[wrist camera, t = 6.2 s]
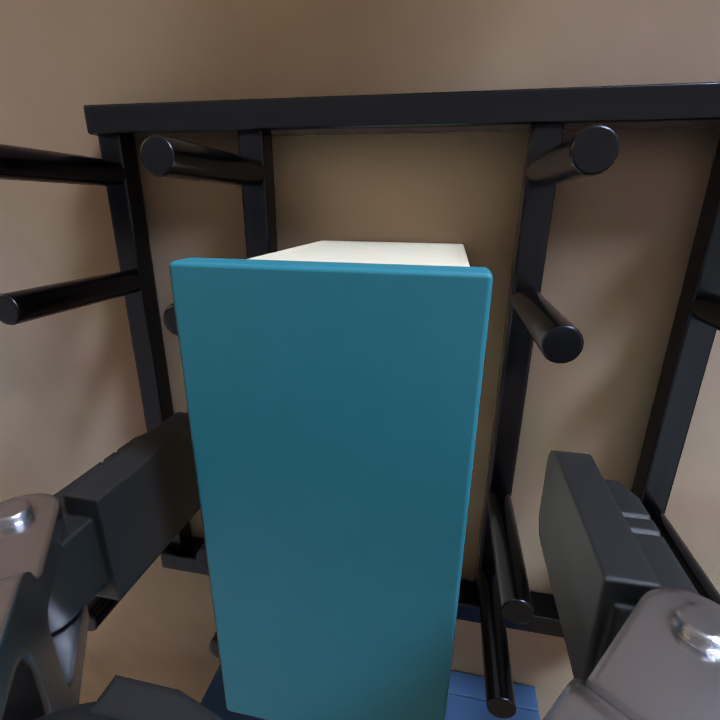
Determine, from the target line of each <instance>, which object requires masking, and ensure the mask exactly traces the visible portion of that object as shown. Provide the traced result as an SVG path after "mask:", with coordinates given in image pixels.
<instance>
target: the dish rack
mask: <svg viewBox="0 0 720 720" xmlns="http://www.w3.org/2000/svg"><path fill="white" fill-rule="evenodd" d="M84 113H85V119H86V124H87V130H88V133H89V134H91V135H96V136H98V139H99V145H100V151H101V157H102V158H95V157H88V156H81V155H74V154H67V153H60V152H53V151H46V150H39V149H32V148H25V147H18V146H11V145H4V144H0V179H6V180H21V181H36V182H52V183H67V184H82V185H98V186H106V187H107V193H108V199H109V205H110V211H111V217H112V223H113V229H114V235H115V241H116V247H117V253H118V259H119V265H120V272H115V273H110V274H105V275H99V276H94V277H89V278H83V279H78V280H73V281H68V282H62V283H57V284H52V285H46V286H41V287H36V288H31V289H25V290H20V291H15V292H9V293H4V294H0V321H1V322H3V323H5V324H8V325H15V324H19V323H23V322H27V321H30V320H34V319H38V318H42V317H45V316H49V315H53V314H57V313H61V312H64V311H68V310H72V309H76V308H79V307H83V306H87V305H91V304H94V303H98V302H102V301H106V300H110V299H113V298H117V297H121V296H125V301H126V307H127V313H128V319H129V325H130V331H131V337H132V343H133V349H134V355H135V361H136V367H137V373H138V380H139V386H140V392H141V398H142V404H143V410H144V416H145V422H146V428H147V433H148V432H150V431H152V430H153V429H155V428H156V427H157V426H159V425H160V424H161V423H163V422H164V421H166V420H167V419H168V418H170V417H171V416H172V415H174V413H173V406H172V399H171V391H170V384H169V377H168V370H167V363H166V356H165V349H164V342H163V335H162V328H161V321H160V314H159V307H158V300H157V293H156V286H155V279H154V272H153V265H152V258H151V251H150V244H149V237H148V230H147V223H146V216H145V208H144V201H143V194H142V187H141V180H140V173H139V166H138V159H137V152H136V145H135V139H145V140H144V141H143V143H142V145H141V148H140V157H141V161H142V163H143V165H144V167H145V168H146V169H147V170H148V171H149V172H150V173H151V174H153V175H155V176H158V177H166V178H175V179H184V180H194V181H203V182H212V183H221V184H230V185H240V186H242V194H243V208H244V222H245V236H246V249H247V259H249V258H253V257H257V256H261V255H265V254H269V253H273V252H277V233H276V214H275V194H274V174H273V154H272V136H305V135H354V134H404V133H453V132H502V131H529V132H528V140H527V149H526V157H525V165H524V173H523V182H522V190H521V198H520V206H519V215H518V223H517V231H516V239H515V248H514V256H513V264H512V272H511V281H510V289H509V297H508V305H507V314H506V322H505V330H504V339H503V347H502V355H501V363H500V372H499V380H498V388H497V396H496V405H495V413H494V421H493V429H492V438H491V446H490V454H489V462H488V471H487V479H486V487H485V495H484V504H483V512H482V520H481V528H480V537H479V545H478V553H477V562H476V570H475V578H474V582H469V581H463V580H461V581H460V590H459V599H458V608H457V618H456V619H461V620H467V621H473V622H478V623H481V636H482V651H483V665H484V680H485V695H486V707H487V710H488V711H489V713H490V714H491V715H493V716H495V717H497V718H501V719H507V718H511V717H513V716H514V715H515V713H516V701H515V694H514V686H513V678H512V670H511V662H510V655H509V647H508V639H507V631H506V627H507V628H512V629H518V630H524V631H530V632H535V633H541V634H547V635H552V636H558V637H564V635H563V631H562V627H561V623H560V619H559V615H558V611H557V607H556V603H555V599H554V595H550V594H544V593H538V592H532V591H530V589H529V584H528V579H527V574H526V569H525V564H524V559H523V554H522V549H521V544H520V539H519V534H518V529H517V525H516V520H515V515H514V510H513V505H512V500H511V493H512V486H513V479H514V472H515V465H516V458H517V451H518V444H519V437H520V431H521V424H522V417H523V410H524V403H525V396H526V389H527V382H528V375H529V368H530V361H531V354H532V347H533V341H535V343H536V344H537V346H538V347H539V349H540V351H541V352H542V354H543V355H544V357H545V358H546V359H548V360H549V361H551V362H554V363H567V362H570V361H572V360H574V359H575V358H576V357H577V356H578V355H579V354H580V353H581V351H582V349H583V345H584V340H583V336H582V334H581V333H580V331H579V330H578V329H576V328H575V327H574V326H573V325H572V324H571V323H570V322H569V321H568V320H567V319H566V318H565V317H564V316H563V315H562V314H561V313H560V312H559V311H558V310H557V309H556V308H555V307H554V306H553V305H552V304H551V303H550V302H549V301H547V300H546V299H545V298H544V297H543V296H542V295H541V294H540V292H541V285H542V278H543V271H544V264H545V257H546V251H547V244H548V237H549V230H550V223H551V216H552V209H553V202H554V195H555V188H556V184H559V183H564V182H568V181H572V180H576V179H581V178H585V177H589V176H593V175H597V174H600V173H602V172H604V171H606V170H607V169H608V168H609V167H610V166H611V165H612V164H613V163H614V161H615V160H616V158H617V156H618V153H619V147H620V144H619V139H618V136H617V134H616V133H615V132H614V130H612V129H649V128H699V127H720V82H704V83H677V84H650V85H623V86H595V87H568V88H541V89H514V90H487V91H459V92H432V93H405V94H378V95H351V96H323V97H296V98H269V99H242V100H215V101H187V102H160V103H133V104H106V105H85V106H84ZM564 130H582V131H580V132H579V133H577V134H575V135H574V136H572V137H570V138H569V139H567V140H565V141H564V142H562V140H563V133H564ZM207 137H238V139H239V153H240V155H237V154H233V153H229V152H225V151H221V150H217V149H213V148H209V147H205V146H201V145H197V144H193V143H189V142H185V141H181V140H177V139H173V138H207ZM164 323H165V326H166V327H167V329H168V330H169V331H170V332H171V333H172V334H174V335H177V336H178V331H177V323H176V315H175V308H174V304H171V305H170V306H168V307H167V309H166V310H165V312H164ZM716 330H720V139H719V143H718V147H717V151H716V155H715V159H714V163H713V167H712V171H711V175H710V179H709V183H708V187H707V191H706V195H705V199H704V203H703V207H702V211H701V215H700V219H699V223H698V227H697V231H696V235H695V239H694V243H693V247H692V251H691V255H690V259H689V263H688V267H687V271H686V275H685V279H684V283H683V287H682V291H681V295H680V299H679V303H678V307H677V311H676V315H675V319H674V323H673V327H672V331H671V335H670V339H669V343H668V347H667V351H666V355H665V359H664V363H663V367H662V371H661V375H660V379H659V383H658V387H657V391H656V395H655V399H654V403H653V407H652V411H651V415H650V419H649V423H648V427H647V431H646V435H645V439H644V443H643V447H642V451H641V455H640V459H639V463H638V467H637V471H636V475H635V479H634V483H633V487H632V491H631V492H632V493H633V494H635V495H636V496H637V497H638V498H639V499H640V501H641V502H642V504H643V505H644V507H645V509H646V510H647V512H648V513H649V515H650V519H651V520H653V521H654V523H655V525H656V526H657V528H658V529H659V531H660V535H661V537H664V539H665V541H666V542H667V544H668V545H669V547H670V549H671V550H672V552H673V553H674V555H675V557H676V558H677V560H678V561H679V563H680V565H681V566H682V568H683V569H684V571H685V573H686V574H687V576H688V577H689V579H690V581H691V582H692V584H693V585H694V587H695V589H696V590H697V592H698V593H699V595H701V596H703V597H705V598H707V599H710V600H712V601H714V602H716V603H717V604H719V605H720V594H719V593H718V591H717V590H716V588H715V587H714V585H713V584H712V582H711V581H710V580H709V578H708V577H707V575H706V574H705V572H704V571H703V569H702V568H701V567H700V565H699V564H698V562H697V561H696V559H695V558H694V557H693V555H692V554H691V552H690V551H689V549H688V548H687V546H686V545H685V544H684V542H683V541H682V539H681V538H680V536H679V535H678V533H677V532H676V531H675V529H674V528H673V526H672V525H671V523H670V522H669V520H668V519H667V518H666V516H665V515H664V513H665V510H666V506H667V503H668V499H669V496H670V492H671V489H672V485H673V482H674V478H675V475H676V471H677V468H678V464H679V461H680V457H681V454H682V450H683V447H684V443H685V439H686V436H687V432H688V429H689V425H690V422H691V418H692V415H693V411H694V408H695V404H696V401H697V397H698V394H699V390H700V387H701V383H702V380H703V376H704V373H705V369H706V365H707V362H708V358H709V355H710V351H711V348H712V344H713V341H714V337H715V334H716ZM161 559H162V565H163V567H165V568H170V569H176V570H182V571H187V572H193V573H199V574H205V575H209V569H208V561H207V554H206V546H205V539H199V538H193V537H191V532H190V525H189V521H188V522H187V524H186V525H185V526H184V527H183V528H182V529H181V531H180V532H179V533H178V534H177V535H176V536H175V538H174V539H173V540H172V541H171V542H170V543H169V544H168V546H167V547H166V548H165V549H164V550H163V551H162V553H161ZM125 595H126V594H125ZM119 602H120V601H118V600H113V599H108V598H103V597H98V596H94V597H93V598H92V599H91V600H90V601H89V602H88V604H87V609H88V613H89V623H88V631H94V630H96V629H97V628H98V626H99V625H100V624H101V623H102V622H103V621H104V619H105V618H106V617H107V616H108V615H109V613H110V612H111V611H112V610H113V609H114V608H115V606H116V605H117V604H118V603H119ZM209 648H210V651H211V652H212V654H213V655H215V656H216V657H218V658H220V654H219V646H218V638H217V631H216V632H215V634H214V636H213V638H212V640H211V641H210V645H209Z"/></svg>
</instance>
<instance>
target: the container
mask: <svg viewBox="0 0 720 720" xmlns="http://www.w3.org/2000/svg"><path fill="white" fill-rule="evenodd" d="M169 269H170V277H171V284H172V292H173V300H174V308H175V315H176V323H177V331H178V338H179V346H180V354H181V361H182V369H183V377H184V384H185V392H186V400H187V408H188V415H189V423H190V431H191V438H192V446H193V454H194V461H195V469H196V477H197V484H198V492H199V500H200V507H201V515H202V523H203V531H204V538H205V546H206V554H207V561H208V569H209V577H210V584H211V592H212V600H213V607H214V615H215V623H216V631H217V638H218V646H219V654H220V661H221V669H222V677H223V684H224V692H225V700H226V707H227V710H229V711H232V712H236V713H241V714H245V715H249V716H254V717H258V718H262V719H266V720H445V719H446V710H447V701H448V692H449V682H450V673H451V664H452V655H453V645H454V636H455V627H456V618H457V608H458V599H459V590H460V581H461V571H462V562H463V553H464V544H465V534H466V525H467V516H468V506H469V497H470V488H471V479H472V469H473V460H474V451H475V442H476V432H477V423H478V414H479V405H480V395H481V386H482V377H483V368H484V358H485V349H486V340H487V331H488V321H489V312H490V303H491V294H492V284H493V276H492V274H491V272H490V270H489V269H488V268H485V267H470V265H469V262H468V259H467V255H466V252H465V249H464V245H463V244H444V243H403V242H363V241H318V242H314V243H310V244H306V245H302V246H298V247H294V248H290V249H285V250H281V251H277V252H273V253H269V254H265V255H261V256H257V257H253V258H249V259H225V258H195V257H192V258H186V259H181V260H176V261H173V262H171V263H170V265H169Z"/></svg>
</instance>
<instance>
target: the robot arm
mask: <svg viewBox="0 0 720 720" xmlns="http://www.w3.org/2000/svg"><path fill="white" fill-rule="evenodd" d="M199 508H200V500H199V492H198V484H197V477H196V469H195V461H194V454H193V446H192V438H191V431H190V423H189V415H188V413H182V412H178V413H175V414H174V415H172V416H171V417H170V418H168V419H167V420H166V421H164V422H163V423H161V424H160V425H159V426H157V427H156V428H155V429H153V430H152V431H150V432H148V433H145V434H143V435H141V436H138V437H136V438H134V439H132V440H131V441H130V442H128V443H127V444H125V445H124V446H122V447H121V448H120V449H118V451H117V453H115V452H114V453H113V454H111V455H110V456H108V457H107V458H106V459H104V462H103V463H102V462H100V463H99V464H97V465H96V466H94V467H93V468H91V469H90V470H89V471H87V472H86V473H84V474H83V475H82V476H80V477H79V478H77V479H76V480H75V481H73V482H72V483H70V484H69V485H68V486H66V487H65V488H63V489H62V490H60V491H59V492H58V493H56V494H55V495H49V494H29V495H23V496H19V497H15V498H12V499H9V500H6V501H3V502H1V503H0V720H224V719H223V718H221V717H220V716H218V715H217V714H215V713H214V712H212V711H211V710H209V709H208V708H206V707H204V706H203V705H201V704H200V703H198V702H197V701H195V700H194V699H192V698H191V697H189V696H188V695H186V694H185V693H183V692H181V691H180V690H177V689H172V688H168V687H164V686H160V685H155V684H151V683H147V682H143V681H139V680H134V679H130V678H126V677H122V676H117V675H115V677H114V678H113V680H112V681H111V682H110V684H109V685H108V686H107V688H106V689H105V690H104V692H103V693H102V695H101V696H100V697H99V699H98V700H97V701H96V702H90V703H85V704H80V705H79V697H80V689H81V681H82V673H83V664H84V656H85V648H86V640H87V632H88V623H89V613H88V609H87V604H88V602H89V601H90V600H91V599H92V598H93V597H94V596H98V597H103V598H108V599H113V600H118V601H120V600H121V599H122V598H123V597H124V596H125V594H126V593H127V592H128V591H129V590H130V589H131V587H132V586H133V585H134V584H135V583H136V582H137V580H138V579H139V578H140V577H141V576H142V575H143V574H144V572H145V571H146V570H147V569H148V568H149V567H150V565H151V564H152V563H153V562H154V561H155V560H156V558H157V557H158V556H159V555H160V554H161V553H162V551H163V550H164V549H165V548H166V547H167V546H168V544H169V543H170V542H171V541H172V540H173V539H174V538H175V536H176V535H177V534H178V533H179V532H180V531H181V529H182V528H183V527H184V526H185V525H186V524H187V522H188V521H189V520H190V519H191V518H192V517H193V515H194V514H195V513H196V512H197V511H198V510H199ZM539 536H540V542H541V546H542V550H543V554H544V558H545V562H546V566H547V570H548V574H549V578H550V582H551V587H552V591H553V595H554V599H555V603H556V607H557V611H558V615H559V619H560V623H561V627H562V631H563V635H564V639H565V643H566V647H567V651H568V655H569V659H570V663H571V667H572V671H573V675H574V679H573V680H572V681H571V682H570V683H569V684H568V685H567V686H566V687H565V689H564V690H563V691H562V693H561V694H560V696H559V697H558V699H557V700H556V701H555V703H554V704H553V706H552V707H551V709H550V710H549V712H548V713H547V714H546V716H545V717H544V719H543V720H720V605H719V604H717V603H716V602H714V601H712V600H710V599H707V598H705V597H703V596H701V595H699V593H698V592H697V590H696V589H695V587H694V585H693V584H692V582H691V581H690V579H689V577H688V576H687V574H686V573H685V571H684V569H683V568H682V566H681V565H680V563H679V561H678V560H677V558H676V557H675V555H674V553H673V552H672V550H671V549H670V547H669V545H668V544H667V542H666V541H665V539H664V537H661V535H660V531H659V529H658V528H657V526H656V525H655V523H654V521H653V520H651V519H650V515H649V513H648V512H647V510H646V509H645V507H644V505H643V504H642V502H641V501H640V499H639V498H638V497H637V496H636V495H635V494H633V493H632V492H631V491H630V490H628V489H627V488H626V487H625V486H623V485H622V484H621V483H620V482H618V481H613V480H604V479H603V477H602V475H601V473H600V471H599V469H598V467H597V466H596V464H595V462H594V460H593V458H592V457H591V455H589V454H582V453H572V452H562V451H551V452H550V454H549V457H548V461H547V467H546V474H545V480H544V486H543V493H542V499H541V505H540V512H539Z"/></svg>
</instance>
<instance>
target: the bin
mask: <svg viewBox="0 0 720 720" xmlns="http://www.w3.org/2000/svg"><path fill="white" fill-rule="evenodd" d="M513 686H514V694H515V701H516V713H515V715H514V716H513V717H511V718H507V719H501V718H497V717H495V716H493V715H491V714H490V713H489V711H488V710H487V707H486V695H485V680H484V677H482V676H476V675H471V674H466V673H461V672H456V671H451V673H450V682H449V692H448V701H447V710H446V719H445V720H540V717H539V713H538V711H539V710H538V704H537V699H536V693H535V688H534V687H532V686H527V685H522V684H517V683H513ZM200 704H201V705H203V706H204V707H206V708H208V709H209V710H211V711H212V712H214V713H215V714H217V715H218V716H220V717H221V718H223V719H224V720H266V719H262V718H258V717H254V716H249V715H245V714H241V713H236V712H232V711H229V710H227V707H226V700H225V692H224V684H223V677H222V669H221V664H220V666H219V668H218V670H217V672H216V674H215V676H214V678H213V680H212V682H211V684H210V686H209V688H208V690H207V692H206V693H205V695H204V697H203V699H202V701H201V703H200Z"/></svg>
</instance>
